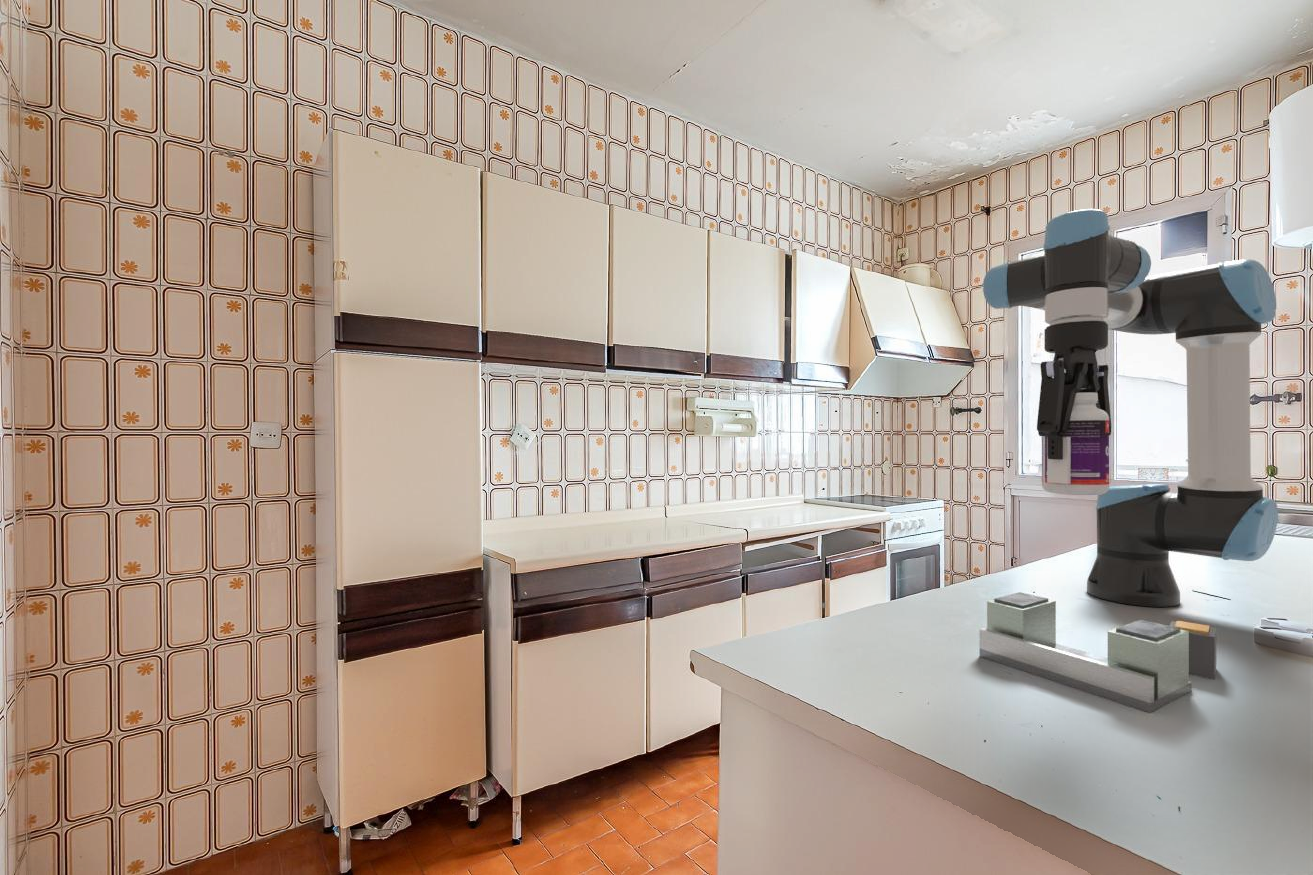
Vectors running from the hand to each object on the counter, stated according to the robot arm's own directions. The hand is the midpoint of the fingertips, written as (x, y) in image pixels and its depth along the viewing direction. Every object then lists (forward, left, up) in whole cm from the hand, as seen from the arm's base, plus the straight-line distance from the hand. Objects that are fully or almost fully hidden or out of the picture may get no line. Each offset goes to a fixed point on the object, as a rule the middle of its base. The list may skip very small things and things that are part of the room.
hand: (1075, 481), depth 88 cm
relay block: (-15, +8, -28) cm, 32 cm away
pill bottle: (0, 0, -2) cm, 2 cm away
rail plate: (0, 0, -28) cm, 28 cm away
